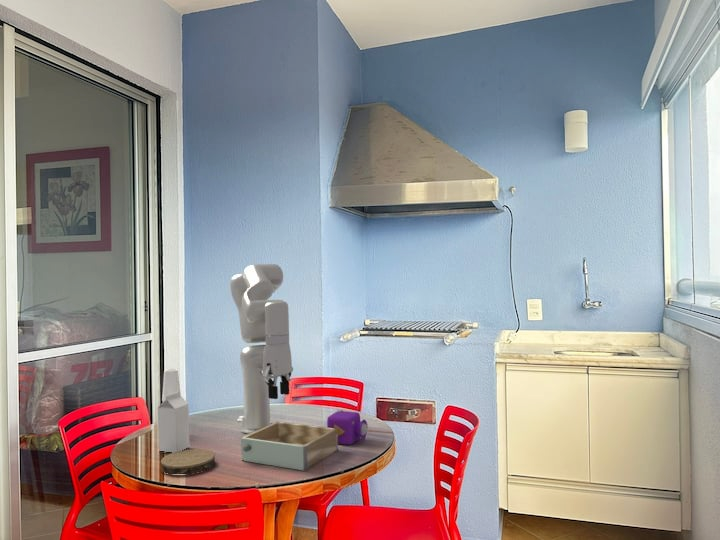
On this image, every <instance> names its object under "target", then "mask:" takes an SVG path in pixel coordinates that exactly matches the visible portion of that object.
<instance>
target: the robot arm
mask: <svg viewBox="0 0 720 540" xmlns="http://www.w3.org/2000/svg"><path fill="white" fill-rule="evenodd" d="M283 282H284V273H283V269H282V268H281V266H279V265H278V264H276V263H274V264H273V263H260V264H259V263H258V264H256V263H255V264H250V265H248V266H247V267H245V268H244V270H243V273H238V274H235V275H233V276H231V279H230V284H229V285H230V292H231V297H232V299H233V301H234V304H235V306H236V308H237V311H238V318H239V327H240V335H241V338H242V341H243V342H244V343H246V344H254V345H249V346H245V347H243V349H242V350H241V351H240V353H239V359H240V366H241V371H242V382H243V386H242V387H243V409H244V410H243V413H244V415H240V416H239V417H238V418H237V420H236V421H237V423H238V424H239V423H240V424H242V425H241V427H240V432H241V433H244V434H247V435H248V434H251V433H253V432H255V431H257V430H260V429H262V428H264V427H266V426H269V425H271V424H273V423H274V422H271V406H270V404H271V403H270V400H277V399H278V398H279V395H278V392H280V395H287V396H288V395H290V382H291V376H292V373H293V370H294V367H293V366H292V361H293V360H292V351H291V346H290V320H289V317H290V316H289V315H290V314H289V303H287V302H286V301H284V300H283V299H270V298H271V297H272V295H273V294H275V292H276V291H277V290H278V289H279V288H280V287H281V286H282V284H283ZM260 343H261V344H260ZM262 343H265V344H262ZM255 344H256V345H255ZM257 344H258V345H257ZM278 377H280V381H279V391H278V386H277V382H278Z"/></svg>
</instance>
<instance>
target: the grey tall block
mask: <svg viewBox="0 0 720 540" xmlns="http://www.w3.org/2000/svg"><path fill="white" fill-rule="evenodd" d="M180 386H181V385H180V378H179V372H178V369H177V368H168V369H167V368H166V369H164V371H163V380H162V395H161V396H162V398H161V401H162V403H163V402H164V399H165V398H166V396H168V395H171V394H173V393H176V392H180V395H181V396H182V394H181V387H180Z"/></svg>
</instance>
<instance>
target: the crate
mask: <svg viewBox="0 0 720 540" xmlns="http://www.w3.org/2000/svg"><path fill="white" fill-rule="evenodd" d="M272 423H273V424H271V425H269V426H266V427H264V428H262V429H260V430H257V431H255V432H253V433H251V434H248V433H247V434H246V435H244V436H242V437H241V438H243V437H244V438H251V439H258V440H266V441H273V442H280V443H287V444H294V445H301V446H307V470H309V469H310V468H312V467H314V466H315V465H317V464H318V463H320V462H321V461H324V459H326V458H328V457H330V456H331V455H332V454H334V453H336V452H337V451H339V444H338V431H337V429H335V428H327V427H326V426H324V427H323V426H318V425H317V426H316V425H309V424H300V423H292V422H283V421H276V422H272ZM335 451H336V452H335Z"/></svg>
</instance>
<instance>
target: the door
mask: <svg viewBox="0 0 720 540" xmlns="http://www.w3.org/2000/svg"><path fill="white" fill-rule="evenodd" d="M242 437H243V438H242ZM242 437H241V438H240V444H241V445H240V446H241V451H240V452H241V461H242V460H244V461H243V462H250V463H255V464H260V465H261V464H263V465H268V466H275V467H278V468H279V467H280V468H286V469H291V470H296V471H297V470H299V471H303V472H306V471H307V472H308V469H307V446H301V445H294V444H287V443H280V442H273V441H266V440H258V439H251V438H244V436H242Z"/></svg>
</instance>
